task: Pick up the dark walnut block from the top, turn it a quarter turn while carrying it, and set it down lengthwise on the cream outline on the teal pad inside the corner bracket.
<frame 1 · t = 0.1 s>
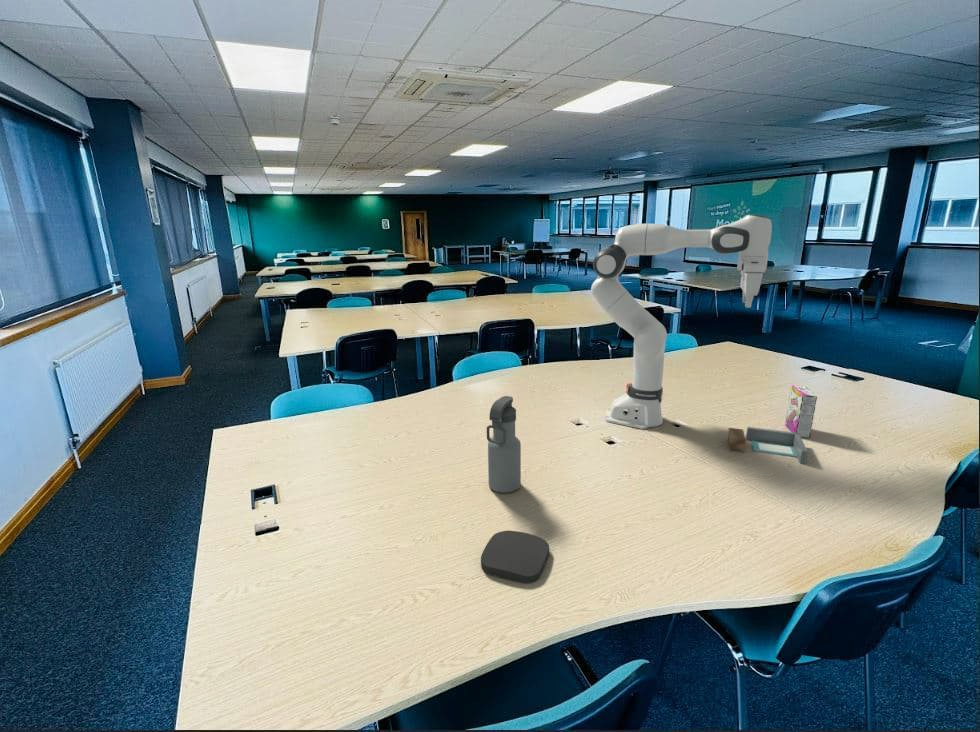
hand: (746, 304, 169), 48 cm above the table, tool pointing down, fingers open, 8 cm apart
candy bar box: (796, 432, 182), on the table
water bottle: (504, 486, 148), on the table
media streaming box: (515, 560, 117), on the table
corner bracket: (773, 450, 167), on the table
walnut block: (735, 446, 171), on the table
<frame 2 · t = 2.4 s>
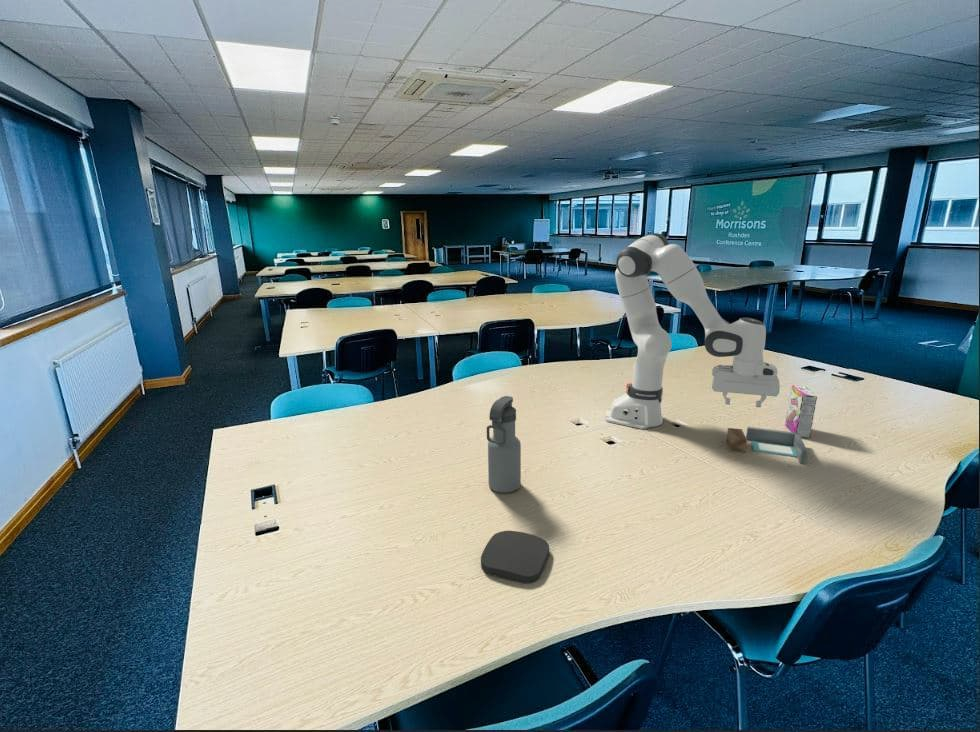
hand: (742, 405, 166), 16 cm above the table, tool pointing down, fingers open, 8 cm apart
nothing on the table moved.
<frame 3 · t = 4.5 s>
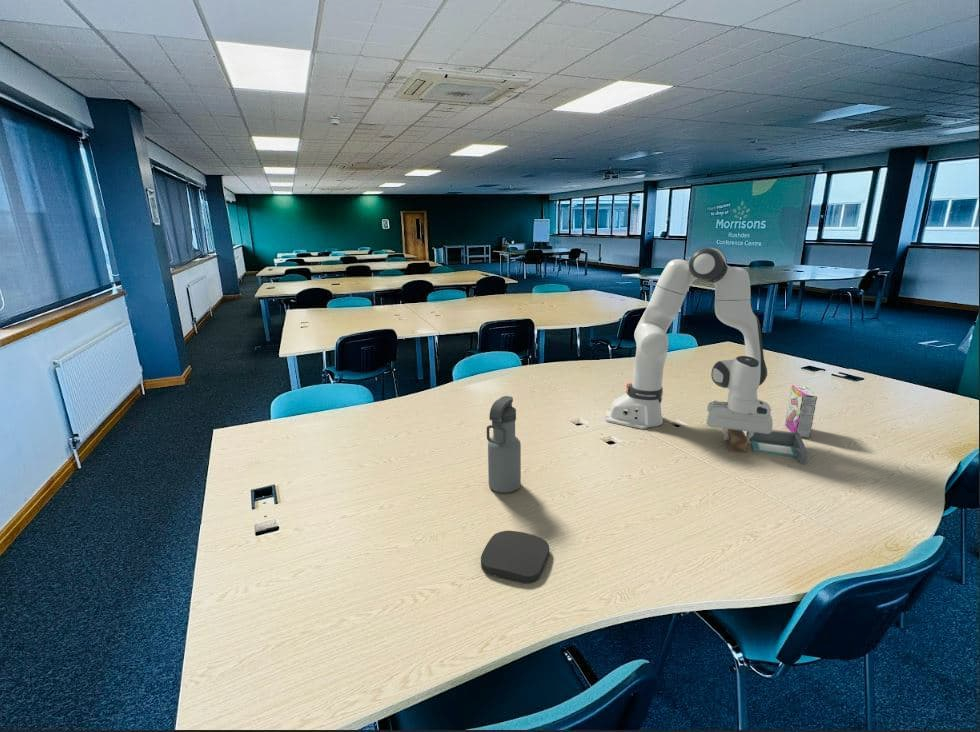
hand: (736, 440, 170), 2 cm above the table, tool pointing down, fingers closed on walnut block, 5 cm apart
walnut block: (735, 446, 171), on the table, touching gripper
everything else where it was.
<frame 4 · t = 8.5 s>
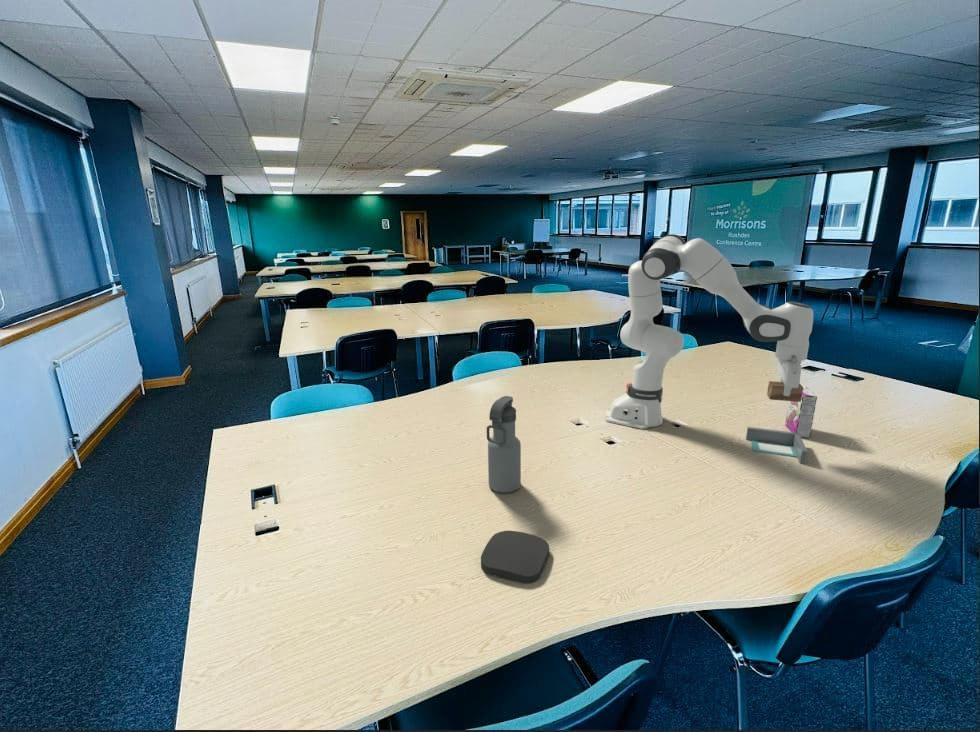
hand: (784, 392, 162), 21 cm above the table, tool pointing down, fingers closed on walnut block, 5 cm apart
walnut block: (783, 398, 162), point 19 cm above the table, touching gripper
everything else where it was.
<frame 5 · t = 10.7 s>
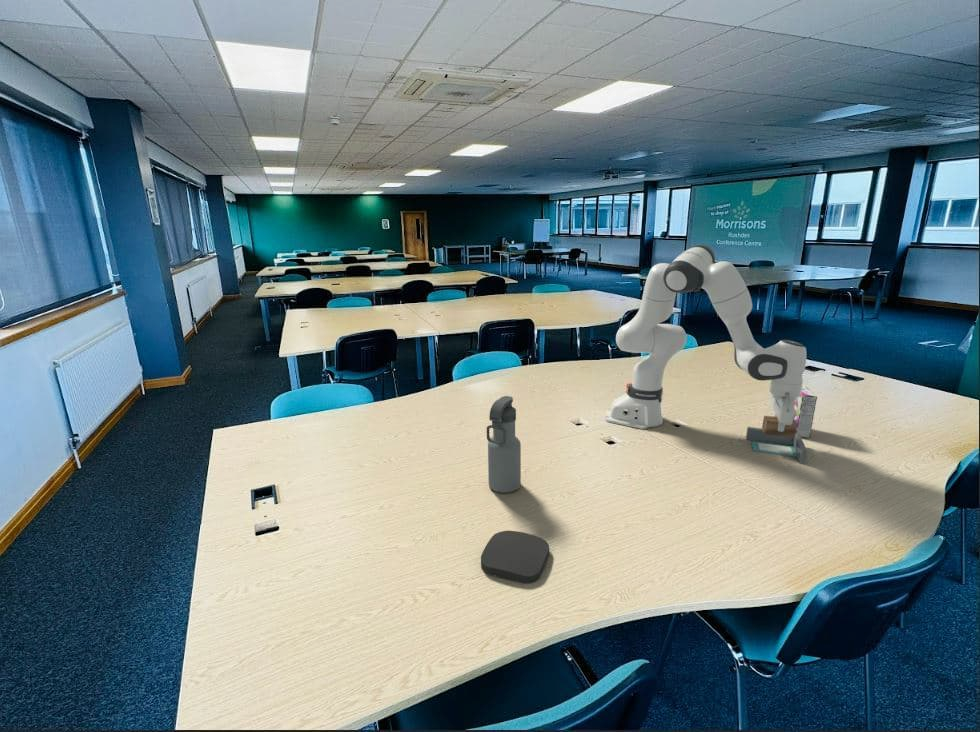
hand: (779, 427, 165), 9 cm above the table, tool pointing down, fingers closed on walnut block, 5 cm apart
walnut block: (777, 432, 166), point 6 cm above the table, touching gripper
everything else where it was.
when the fingers open (3 cm above the table, at t = 12.8 s): walnut block stays where it is, resting on corner bracket.
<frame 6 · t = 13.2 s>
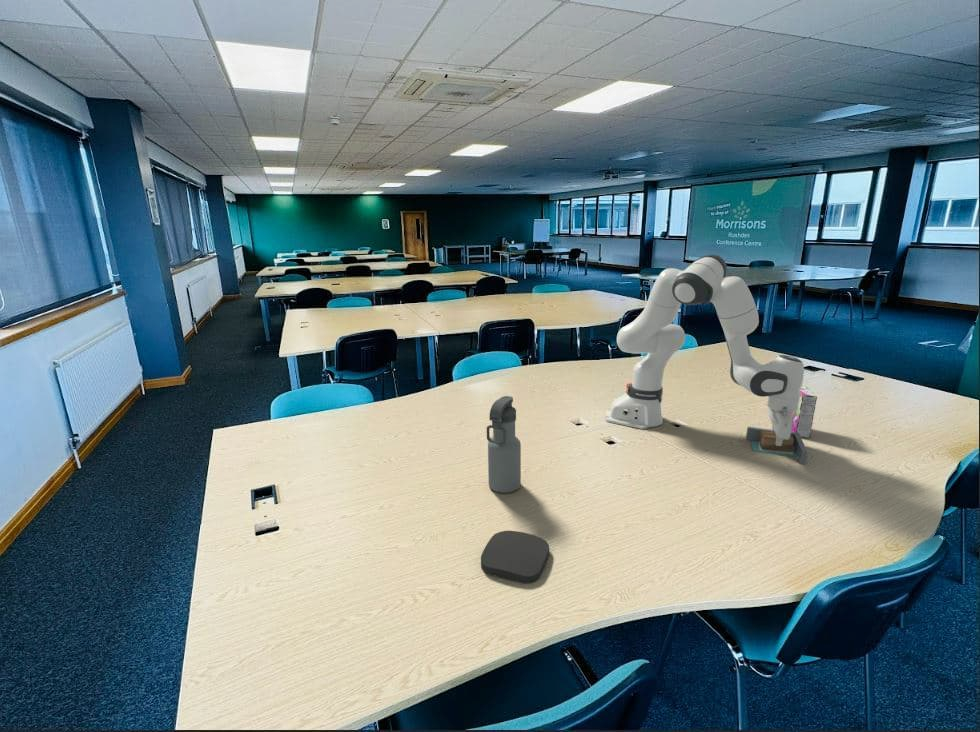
hand: (776, 440, 167), 3 cm above the table, tool pointing down, fingers open, 6 cm apart
walnut block: (774, 448, 168), resting on corner bracket
everything else where it was.
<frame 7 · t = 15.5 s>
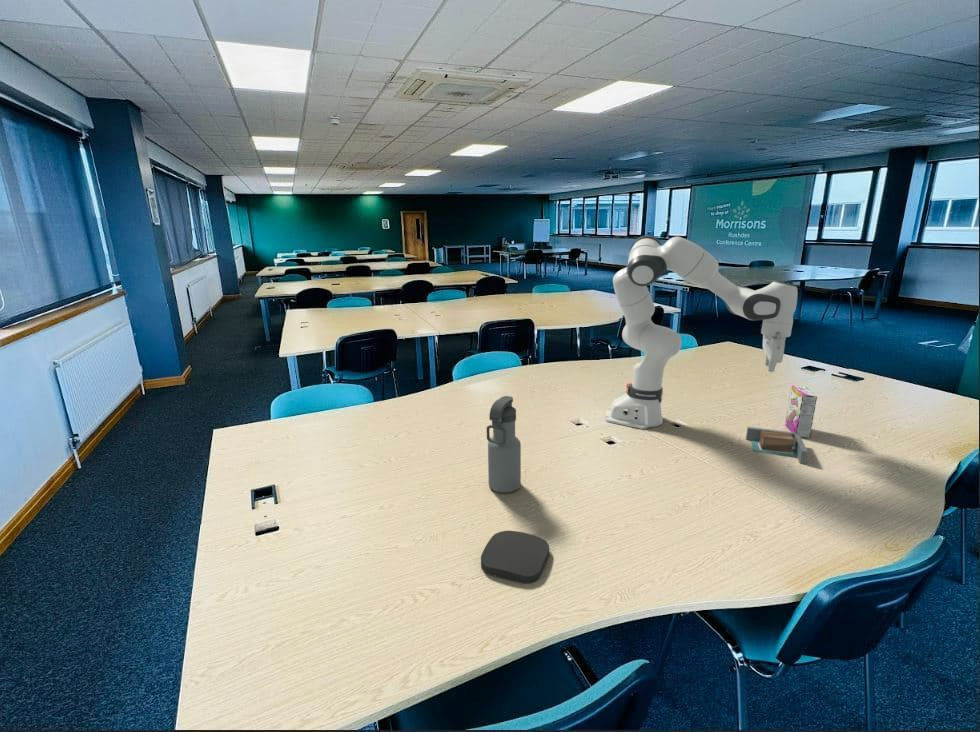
hand: (769, 368, 169), 26 cm above the table, tool pointing down, fingers open, 6 cm apart
nothing on the table moved.
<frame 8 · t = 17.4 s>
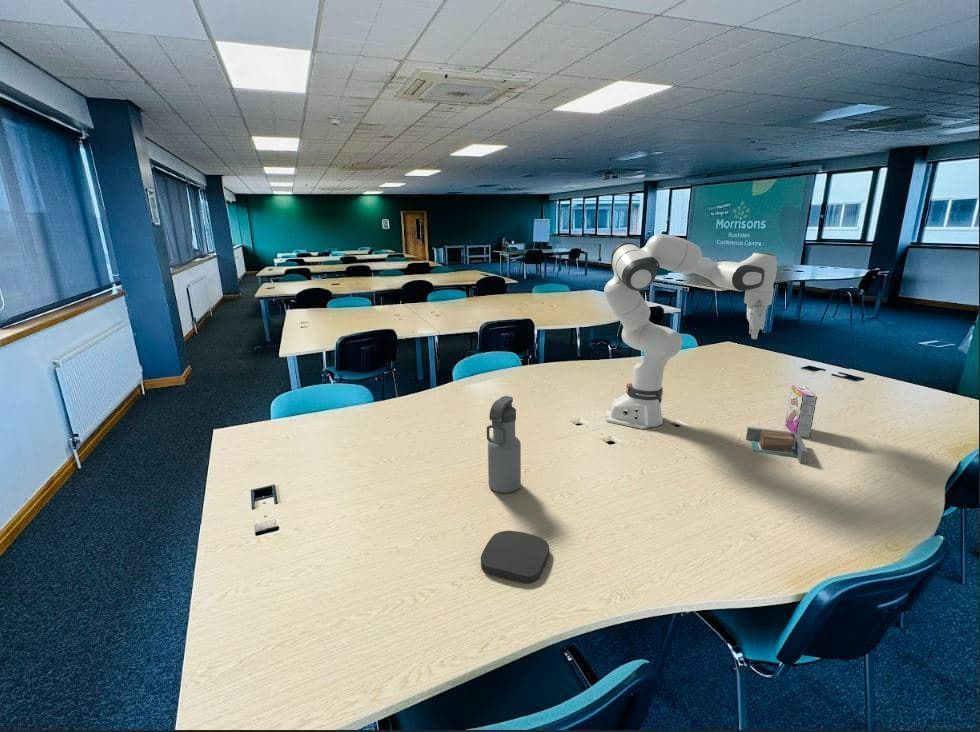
hand: (752, 336, 178), 35 cm above the table, tool pointing down, fingers open, 6 cm apart
nothing on the table moved.
at the end: walnut block 0.1 cm from the target spot, resting on corner bracket; walnut block tilted 0°; the gripper is holding nothing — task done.
